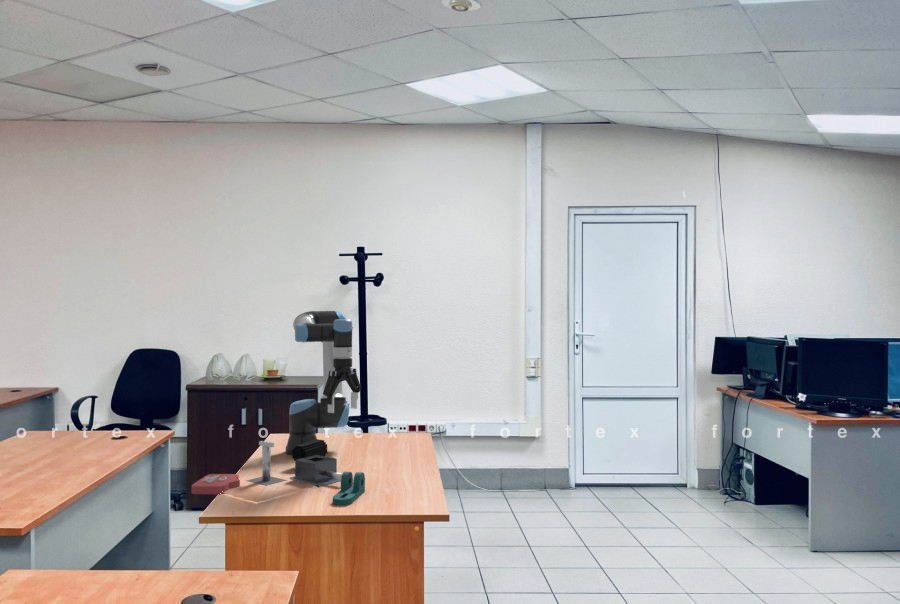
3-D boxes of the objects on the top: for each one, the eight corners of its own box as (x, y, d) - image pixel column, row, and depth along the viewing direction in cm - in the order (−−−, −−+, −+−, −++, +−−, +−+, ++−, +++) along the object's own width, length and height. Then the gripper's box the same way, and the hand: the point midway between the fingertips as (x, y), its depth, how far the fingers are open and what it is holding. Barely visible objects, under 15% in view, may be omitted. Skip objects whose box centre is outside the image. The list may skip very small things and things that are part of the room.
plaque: (231, 485, 247) (189, 484, 248) (231, 495, 247) (189, 495, 248) (247, 472, 265) (208, 472, 266) (247, 482, 265) (208, 482, 266)
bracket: (346, 491, 253) (346, 469, 253) (364, 492, 251) (365, 470, 251) (329, 505, 235) (329, 482, 235) (349, 506, 234) (349, 483, 234)
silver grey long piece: (257, 479, 265) (257, 441, 265) (263, 478, 268) (263, 440, 268) (269, 482, 261) (269, 444, 261) (275, 481, 263) (275, 442, 263)
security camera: (331, 462, 296) (331, 439, 296) (304, 472, 280) (304, 447, 280) (317, 461, 299) (318, 437, 299) (290, 470, 283) (290, 445, 283)
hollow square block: (289, 480, 267) (289, 459, 267) (313, 474, 277) (313, 453, 277) (331, 489, 254) (331, 467, 254) (354, 482, 263) (354, 461, 263)
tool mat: (245, 482, 264) (245, 480, 264) (266, 476, 272) (266, 475, 272) (266, 487, 257) (266, 485, 257) (287, 481, 265) (287, 480, 265)
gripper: (328, 360, 270) (327, 415, 269) (370, 356, 290) (369, 407, 290) (313, 359, 274) (313, 413, 274) (356, 355, 294) (356, 405, 294)
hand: (342, 410), depth 282 cm, fingers open, 13 cm apart
